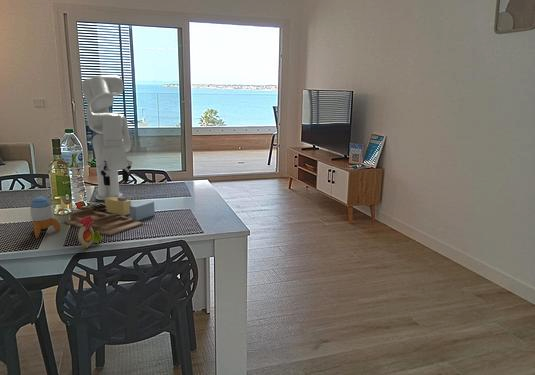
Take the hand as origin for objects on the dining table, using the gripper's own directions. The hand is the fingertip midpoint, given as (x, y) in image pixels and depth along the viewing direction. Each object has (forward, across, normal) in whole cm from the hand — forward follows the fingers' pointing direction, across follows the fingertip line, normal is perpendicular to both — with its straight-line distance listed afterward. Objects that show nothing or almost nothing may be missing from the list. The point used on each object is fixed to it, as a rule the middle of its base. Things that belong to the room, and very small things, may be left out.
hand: (116, 183), depth 183 cm
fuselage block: (+13, 0, -1) cm, 13 cm away
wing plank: (+14, -1, +13) cm, 19 cm away
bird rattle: (+14, +32, +23) cm, 42 cm away
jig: (+13, +14, +7) cm, 20 cm away
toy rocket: (+14, +33, -4) cm, 36 cm away
